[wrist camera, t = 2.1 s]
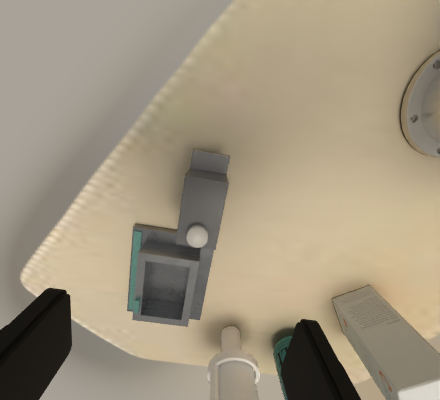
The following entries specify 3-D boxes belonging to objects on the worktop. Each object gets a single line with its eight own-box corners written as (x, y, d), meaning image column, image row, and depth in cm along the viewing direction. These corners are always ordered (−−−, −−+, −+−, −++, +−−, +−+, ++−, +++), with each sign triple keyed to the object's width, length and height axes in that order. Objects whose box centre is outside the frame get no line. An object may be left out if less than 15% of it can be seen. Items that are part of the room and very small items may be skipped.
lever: (196, 146, 27) (186, 154, 18) (227, 152, 27) (233, 163, 18) (184, 227, 30) (171, 266, 21) (212, 232, 30) (211, 272, 22)
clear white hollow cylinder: (200, 337, 36) (190, 474, 22) (225, 309, 34) (233, 437, 20) (234, 355, 37) (246, 495, 23) (260, 329, 36) (290, 462, 21)
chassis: (135, 223, 29) (122, 239, 25) (215, 236, 30) (215, 253, 26) (129, 305, 34) (117, 331, 29) (200, 314, 34) (198, 341, 30)
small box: (380, 321, 36) (469, 422, 23) (343, 333, 36) (409, 439, 24) (370, 283, 33) (462, 374, 21) (330, 297, 34) (396, 393, 22)
